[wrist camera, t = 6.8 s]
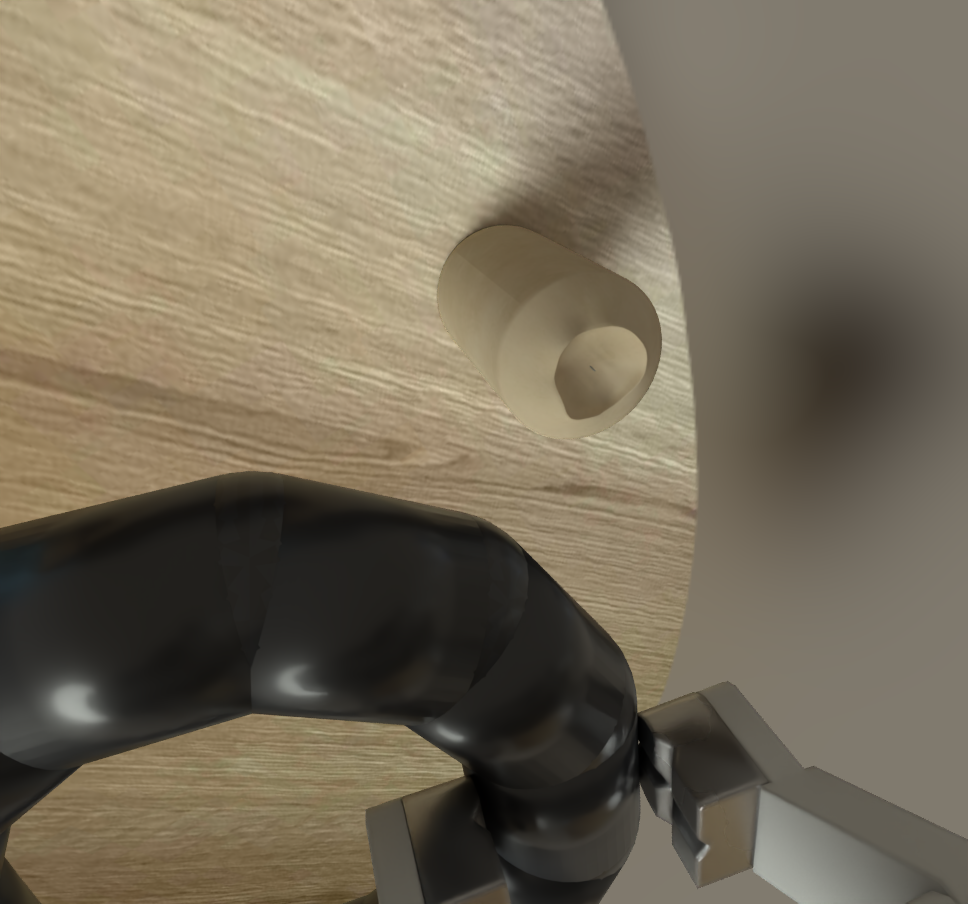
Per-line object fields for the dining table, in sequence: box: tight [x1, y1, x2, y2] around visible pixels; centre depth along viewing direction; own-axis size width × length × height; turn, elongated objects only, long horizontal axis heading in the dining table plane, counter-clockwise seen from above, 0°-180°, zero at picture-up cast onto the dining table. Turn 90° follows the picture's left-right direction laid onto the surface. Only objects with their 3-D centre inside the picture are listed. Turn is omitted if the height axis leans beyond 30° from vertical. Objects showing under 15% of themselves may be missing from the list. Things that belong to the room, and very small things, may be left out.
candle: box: [437, 225, 662, 439], centre depth 25 cm, size 6×6×10 cm
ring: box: [0, 471, 640, 904], centre depth 10 cm, size 11×11×3 cm
